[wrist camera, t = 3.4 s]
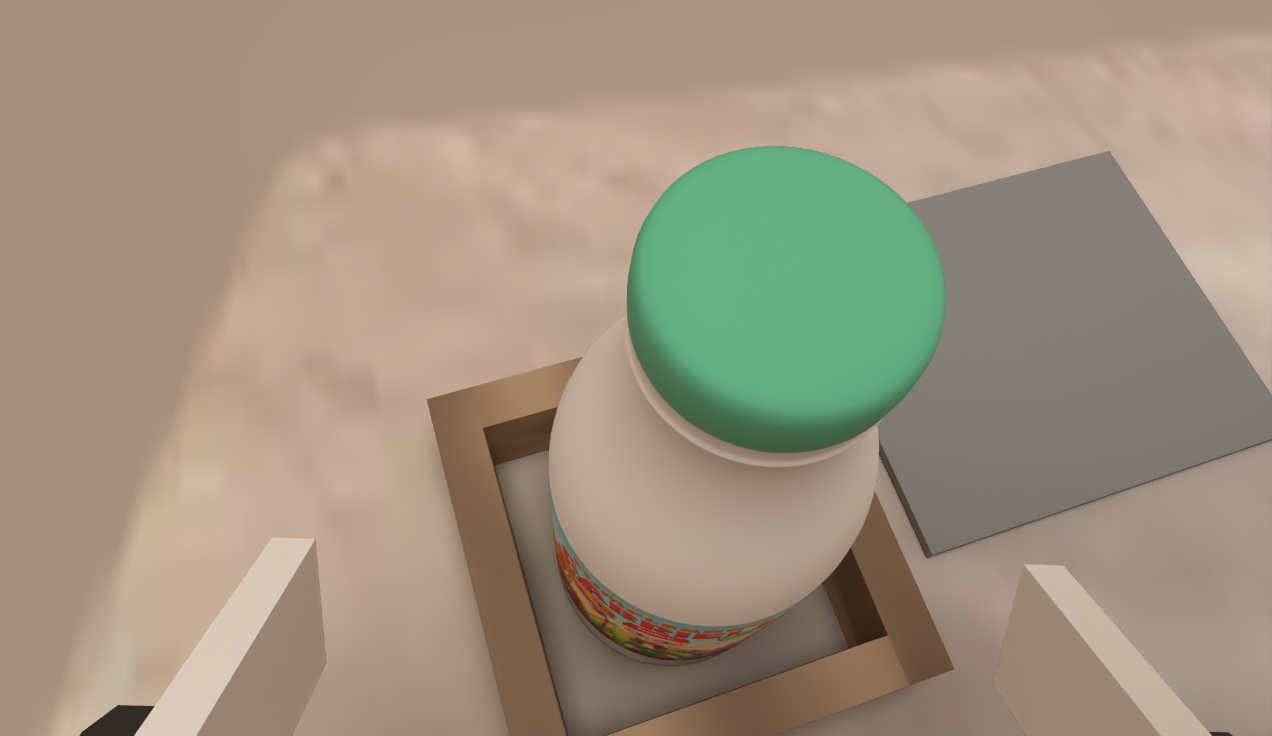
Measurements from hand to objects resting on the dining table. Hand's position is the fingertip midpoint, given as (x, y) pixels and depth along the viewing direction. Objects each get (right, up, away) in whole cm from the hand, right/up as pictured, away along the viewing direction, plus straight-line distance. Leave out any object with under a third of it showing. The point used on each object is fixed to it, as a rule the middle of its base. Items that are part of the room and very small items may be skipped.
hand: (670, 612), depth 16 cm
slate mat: (+15, +6, +19) cm, 25 cm away
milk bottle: (0, -2, +15) cm, 15 cm away
